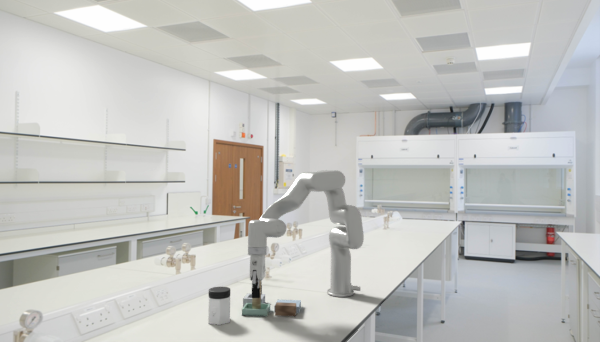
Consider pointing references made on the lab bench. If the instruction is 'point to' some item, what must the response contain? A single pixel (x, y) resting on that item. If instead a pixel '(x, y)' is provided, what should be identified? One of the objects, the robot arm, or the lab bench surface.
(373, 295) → the lab bench surface
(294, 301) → the board
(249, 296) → the socket block
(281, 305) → the block
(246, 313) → the tray
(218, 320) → the jar
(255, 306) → the dowel
